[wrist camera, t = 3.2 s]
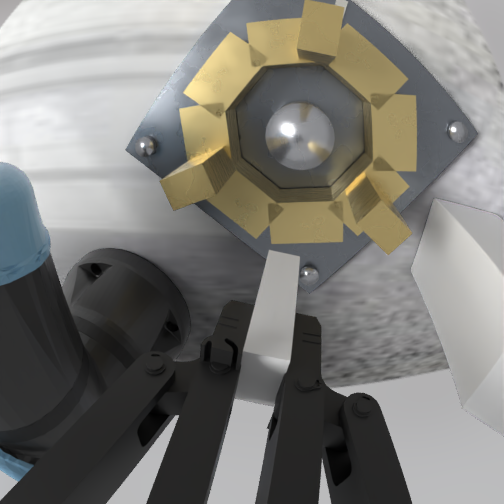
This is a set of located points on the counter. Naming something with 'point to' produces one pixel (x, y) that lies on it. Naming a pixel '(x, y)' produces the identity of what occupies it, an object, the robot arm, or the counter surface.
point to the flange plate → (303, 126)
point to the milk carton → (467, 301)
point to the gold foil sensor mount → (306, 199)
